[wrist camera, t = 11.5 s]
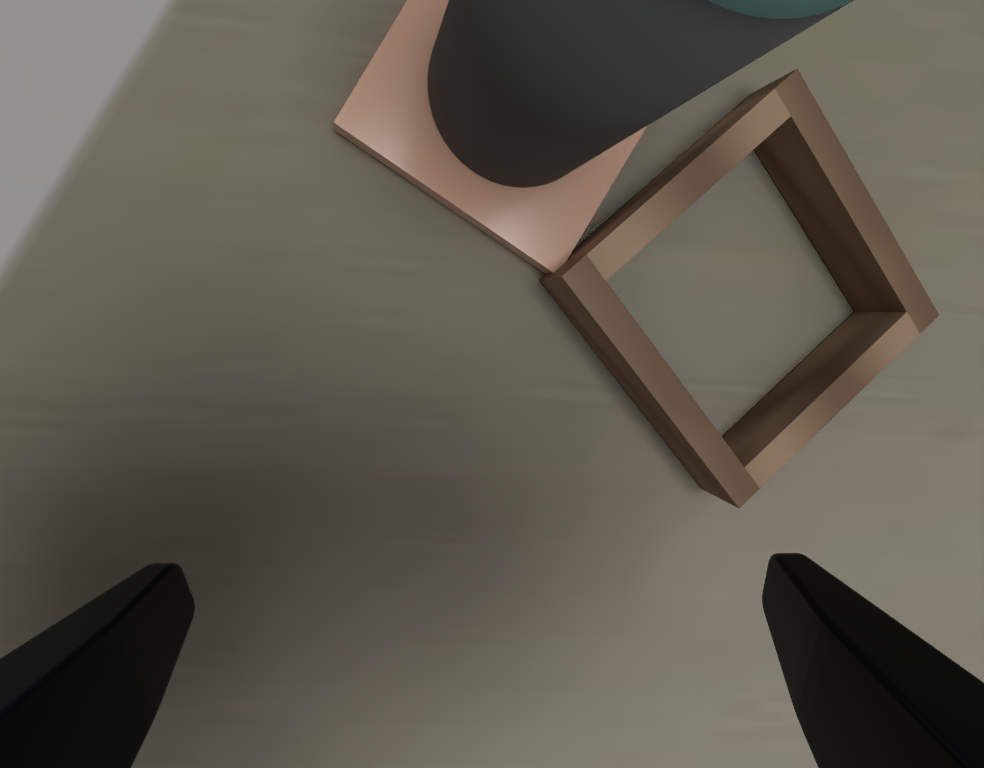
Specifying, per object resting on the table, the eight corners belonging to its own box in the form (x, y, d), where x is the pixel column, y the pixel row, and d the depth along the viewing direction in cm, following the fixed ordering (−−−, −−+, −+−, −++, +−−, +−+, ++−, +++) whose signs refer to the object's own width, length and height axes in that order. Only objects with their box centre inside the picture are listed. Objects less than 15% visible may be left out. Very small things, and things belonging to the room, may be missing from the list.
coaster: (549, 276, 20) (557, 275, 19) (334, 130, 17) (333, 122, 17) (672, 72, 20) (685, 62, 19) (471, -98, 18) (477, -117, 17)
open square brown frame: (701, 489, 22) (739, 508, 20) (538, 279, 19) (561, 276, 17) (884, 314, 23) (939, 315, 21) (751, 93, 20) (797, 68, 18)
